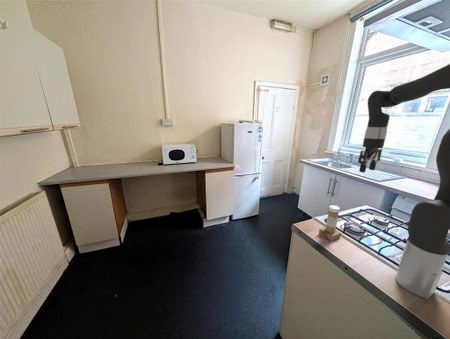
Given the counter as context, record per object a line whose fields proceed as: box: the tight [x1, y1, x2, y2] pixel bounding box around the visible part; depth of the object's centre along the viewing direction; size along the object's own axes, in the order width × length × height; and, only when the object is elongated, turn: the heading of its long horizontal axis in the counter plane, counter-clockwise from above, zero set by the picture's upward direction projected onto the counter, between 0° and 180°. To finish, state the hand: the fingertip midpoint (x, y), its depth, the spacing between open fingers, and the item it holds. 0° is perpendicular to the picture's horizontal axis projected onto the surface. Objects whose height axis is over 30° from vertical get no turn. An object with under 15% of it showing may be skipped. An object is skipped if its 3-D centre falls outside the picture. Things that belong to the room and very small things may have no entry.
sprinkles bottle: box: [325, 204, 341, 233], centre depth 90 cm, size 5×5×14 cm
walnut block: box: [318, 225, 342, 242], centre depth 92 cm, size 7×7×3 cm
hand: (367, 171), depth 86 cm, fingers open, 8 cm apart
